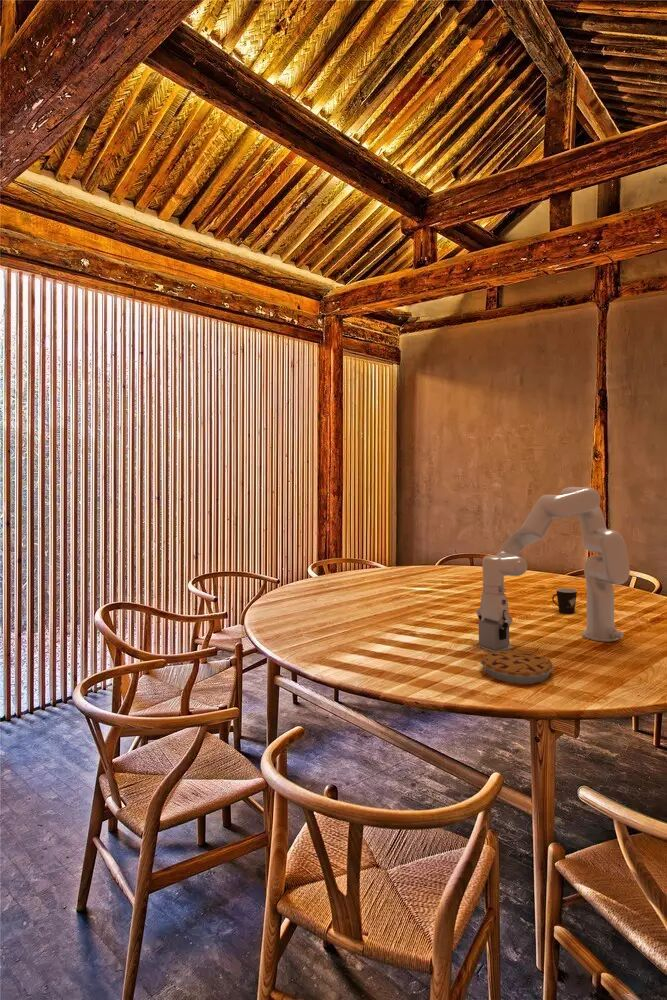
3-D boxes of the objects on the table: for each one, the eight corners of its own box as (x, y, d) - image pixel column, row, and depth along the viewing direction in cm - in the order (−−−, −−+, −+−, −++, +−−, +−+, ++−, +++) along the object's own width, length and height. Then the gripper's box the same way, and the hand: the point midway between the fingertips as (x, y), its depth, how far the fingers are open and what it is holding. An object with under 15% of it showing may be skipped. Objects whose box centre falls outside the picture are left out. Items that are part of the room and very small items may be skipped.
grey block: (509, 645, 198) (509, 622, 198) (495, 650, 194) (494, 626, 194) (493, 640, 205) (492, 617, 204) (478, 644, 201) (478, 621, 200)
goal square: (513, 647, 198) (513, 646, 198) (495, 652, 193) (495, 652, 193) (492, 640, 206) (492, 640, 206) (474, 645, 201) (474, 645, 201)
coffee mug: (573, 609, 248) (573, 588, 248) (579, 614, 240) (579, 592, 239) (547, 609, 249) (547, 588, 249) (552, 614, 241) (552, 592, 240)
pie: (567, 675, 171) (567, 659, 171) (525, 692, 158) (525, 676, 158) (509, 657, 189) (509, 643, 188) (467, 671, 176) (467, 656, 176)
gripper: (519, 592, 193) (520, 640, 194) (482, 584, 208) (483, 629, 209) (505, 595, 189) (505, 644, 190) (468, 586, 204) (469, 632, 205)
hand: (493, 636), depth 199 cm, fingers closed on grey block, 7 cm apart
